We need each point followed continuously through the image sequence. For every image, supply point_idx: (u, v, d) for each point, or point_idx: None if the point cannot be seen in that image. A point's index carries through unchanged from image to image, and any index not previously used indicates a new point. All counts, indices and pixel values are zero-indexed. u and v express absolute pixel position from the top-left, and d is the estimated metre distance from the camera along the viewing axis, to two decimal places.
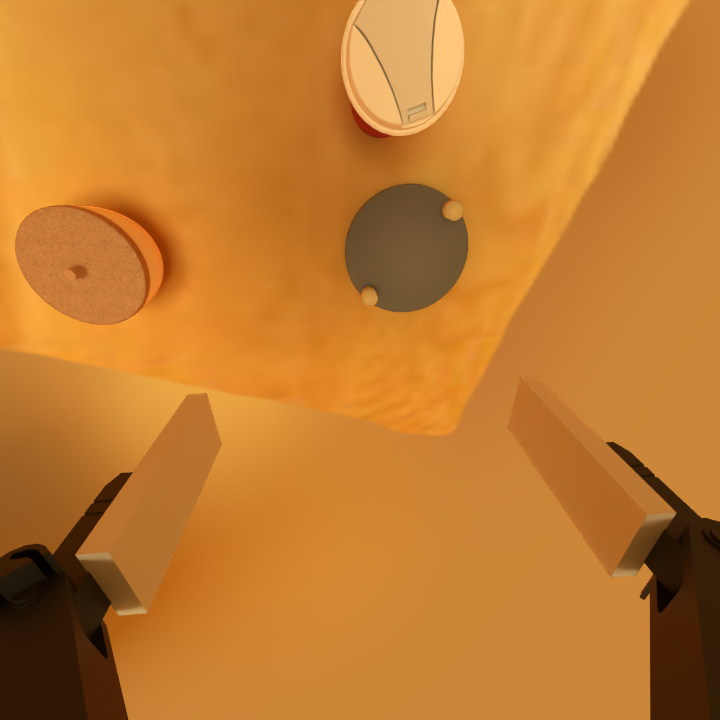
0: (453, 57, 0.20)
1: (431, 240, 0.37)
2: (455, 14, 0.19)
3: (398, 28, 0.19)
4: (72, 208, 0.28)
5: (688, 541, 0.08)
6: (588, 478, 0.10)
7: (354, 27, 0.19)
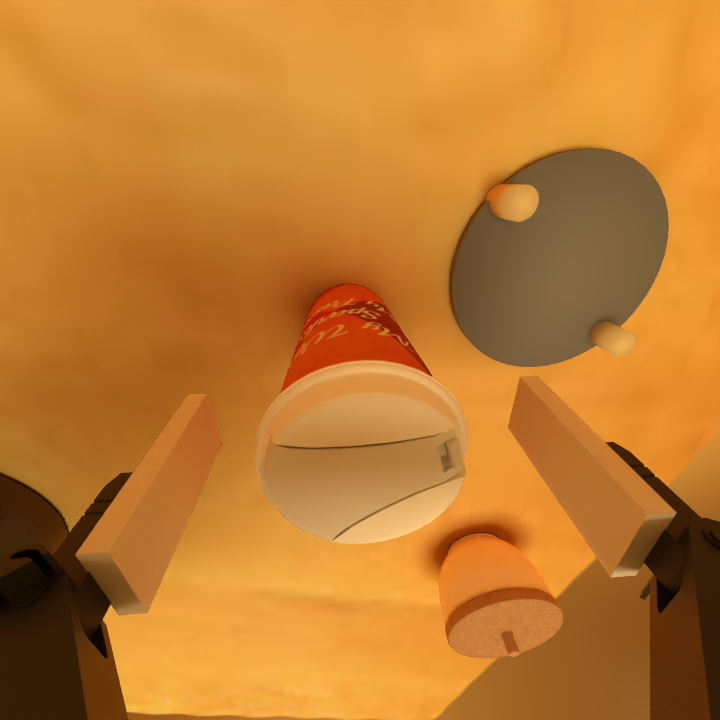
0: (370, 412, 0.10)
1: (548, 231, 0.21)
2: (307, 418, 0.10)
3: (332, 494, 0.11)
4: (452, 629, 0.30)
5: (688, 541, 0.08)
6: (588, 478, 0.10)
7: (335, 540, 0.12)
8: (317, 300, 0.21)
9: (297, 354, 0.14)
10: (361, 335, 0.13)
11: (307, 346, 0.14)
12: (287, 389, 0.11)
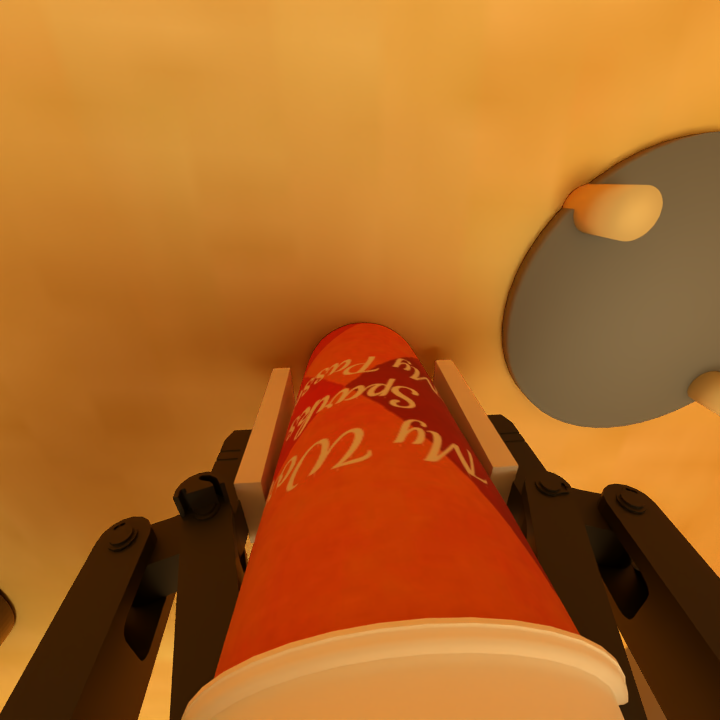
0: None
1: (654, 251, 0.14)
2: None
3: None
4: None
5: (526, 495, 0.09)
6: None
7: None
8: (320, 347, 0.15)
9: (281, 479, 0.08)
10: (397, 468, 0.07)
11: (298, 472, 0.08)
12: (238, 671, 0.04)
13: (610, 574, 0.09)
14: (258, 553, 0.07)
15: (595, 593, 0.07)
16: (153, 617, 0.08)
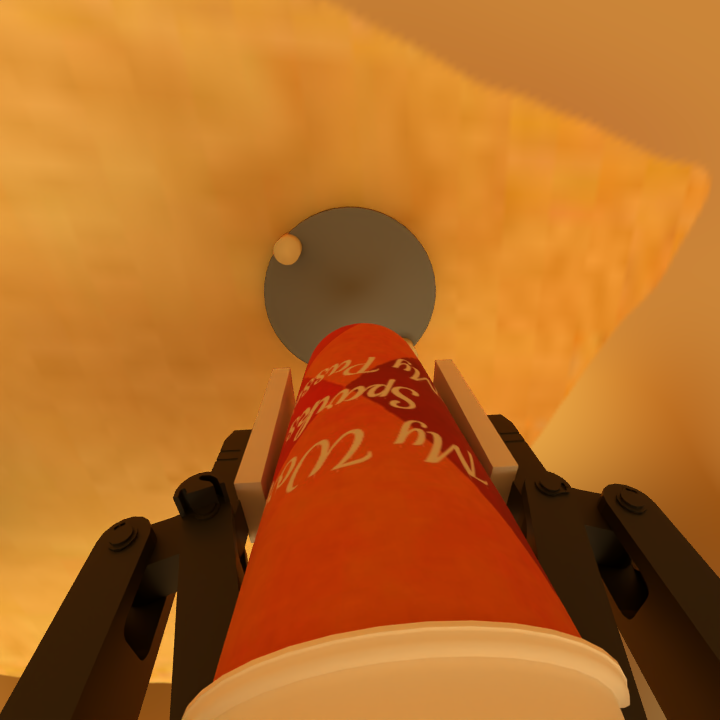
0: None
1: (332, 268, 0.26)
2: None
3: None
4: None
5: (526, 495, 0.09)
6: None
7: None
8: (320, 347, 0.15)
9: (281, 480, 0.08)
10: (398, 469, 0.07)
11: (298, 473, 0.08)
12: (238, 674, 0.04)
13: (610, 574, 0.09)
14: (258, 555, 0.07)
15: (595, 593, 0.07)
16: (153, 617, 0.08)
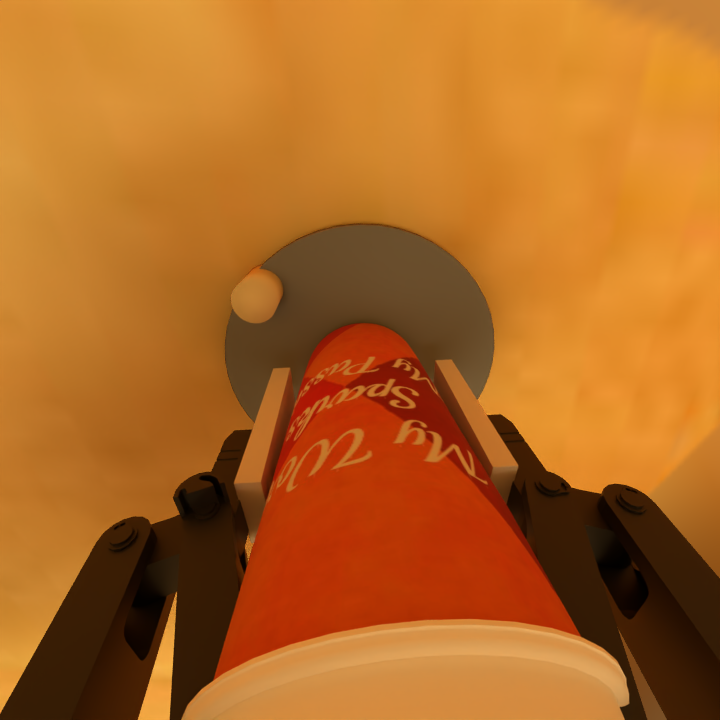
0: None
1: (333, 320, 0.16)
2: None
3: None
4: None
5: (526, 495, 0.09)
6: None
7: None
8: (320, 347, 0.15)
9: (281, 480, 0.08)
10: (398, 469, 0.07)
11: (298, 472, 0.08)
12: (238, 673, 0.04)
13: (610, 573, 0.09)
14: (258, 554, 0.07)
15: (595, 593, 0.07)
16: (153, 617, 0.08)
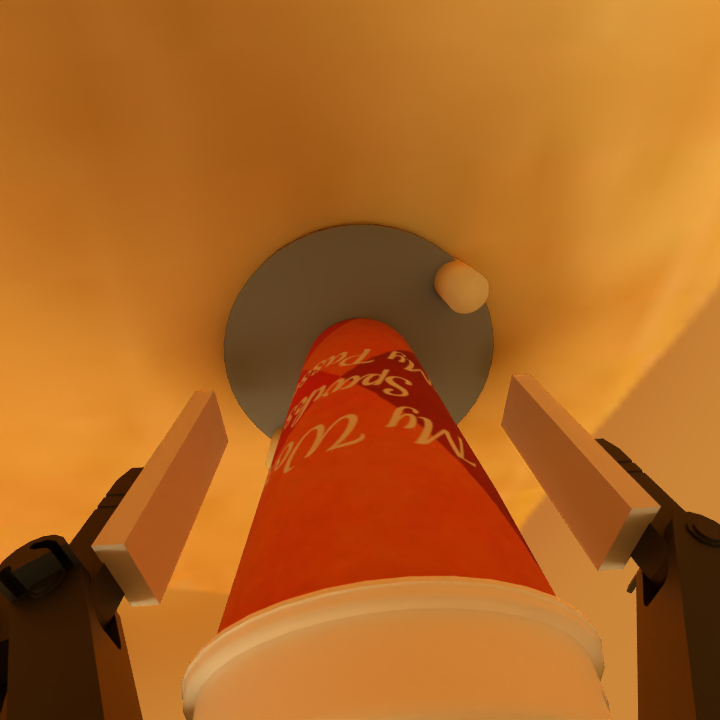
0: None
1: (413, 342, 0.17)
2: None
3: None
4: None
5: (672, 535, 0.08)
6: (577, 473, 0.10)
7: None
8: (317, 342, 0.15)
9: (279, 463, 0.09)
10: (389, 449, 0.07)
11: (295, 455, 0.08)
12: (237, 628, 0.05)
13: None
14: (256, 530, 0.07)
15: None
16: None
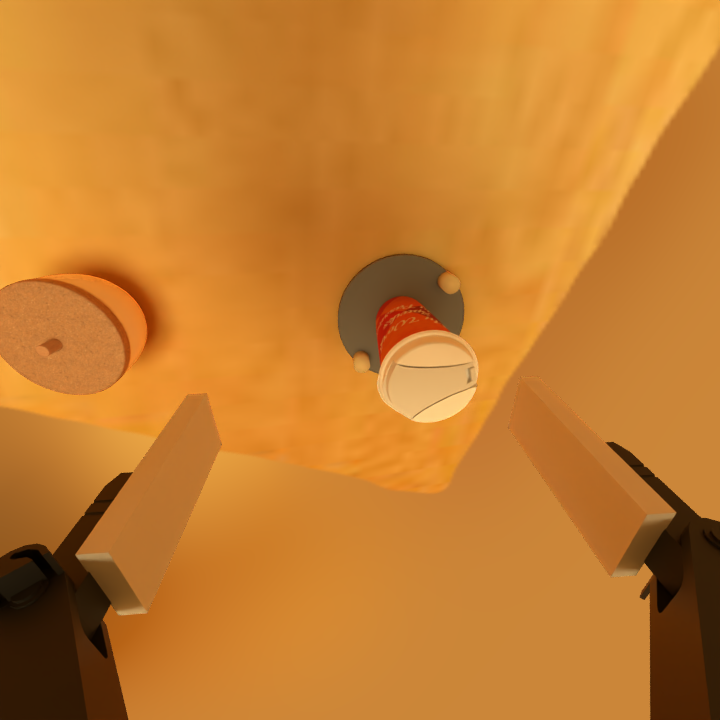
0: (439, 350, 0.23)
1: None
2: (412, 352, 0.23)
3: (416, 391, 0.24)
4: (49, 284, 0.26)
5: (688, 541, 0.08)
6: (589, 478, 0.10)
7: (412, 419, 0.26)
8: (385, 305, 0.35)
9: (390, 331, 0.28)
10: (426, 322, 0.27)
11: (396, 327, 0.27)
12: (400, 341, 0.24)
13: None
14: (390, 341, 0.26)
15: None
16: None
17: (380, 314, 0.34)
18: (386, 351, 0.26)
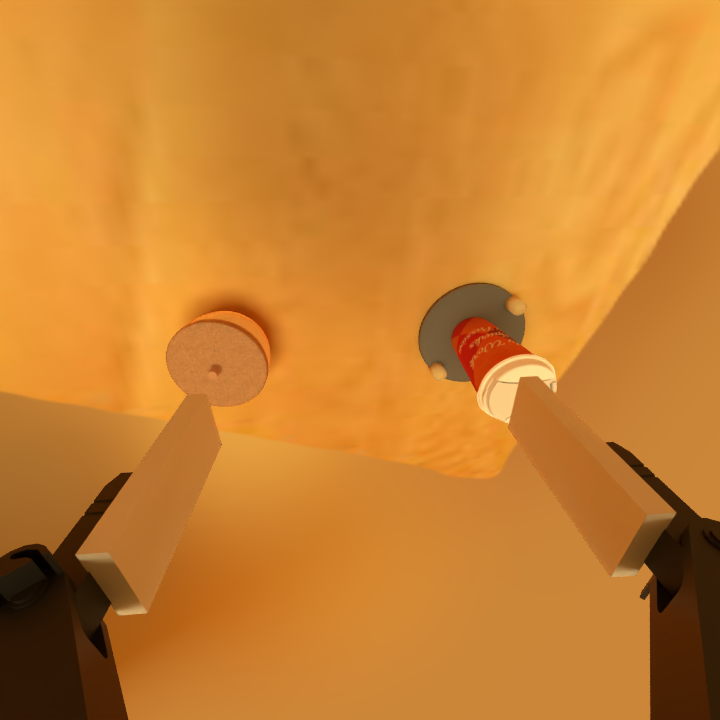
0: (531, 370, 0.31)
1: None
2: (511, 372, 0.30)
3: (510, 401, 0.32)
4: (219, 324, 0.34)
5: (688, 541, 0.08)
6: (589, 478, 0.10)
7: (504, 421, 0.33)
8: (462, 325, 0.42)
9: (480, 352, 0.35)
10: (512, 345, 0.34)
11: (486, 349, 0.35)
12: (498, 363, 0.31)
13: None
14: (484, 361, 0.34)
15: None
16: None
17: (459, 333, 0.41)
18: (482, 369, 0.33)
